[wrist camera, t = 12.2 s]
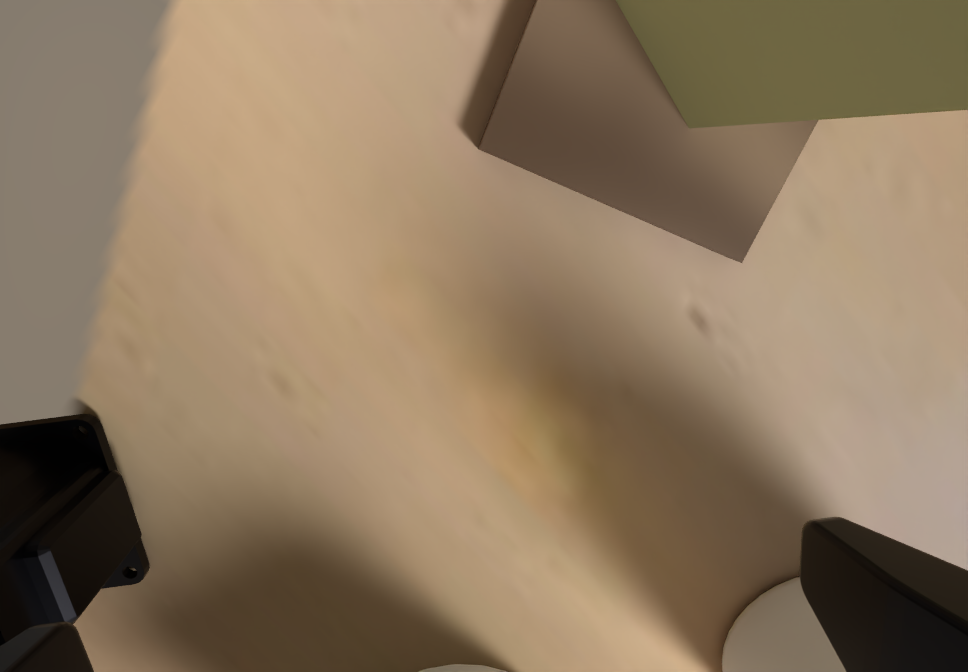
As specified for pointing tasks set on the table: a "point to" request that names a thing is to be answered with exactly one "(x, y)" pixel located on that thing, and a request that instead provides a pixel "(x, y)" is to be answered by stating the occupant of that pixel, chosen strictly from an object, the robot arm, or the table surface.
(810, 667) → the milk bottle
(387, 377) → the table surface
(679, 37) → the pale green upright block
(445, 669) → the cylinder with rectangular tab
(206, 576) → the table surface
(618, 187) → the walnut stud board
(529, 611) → the table surface
